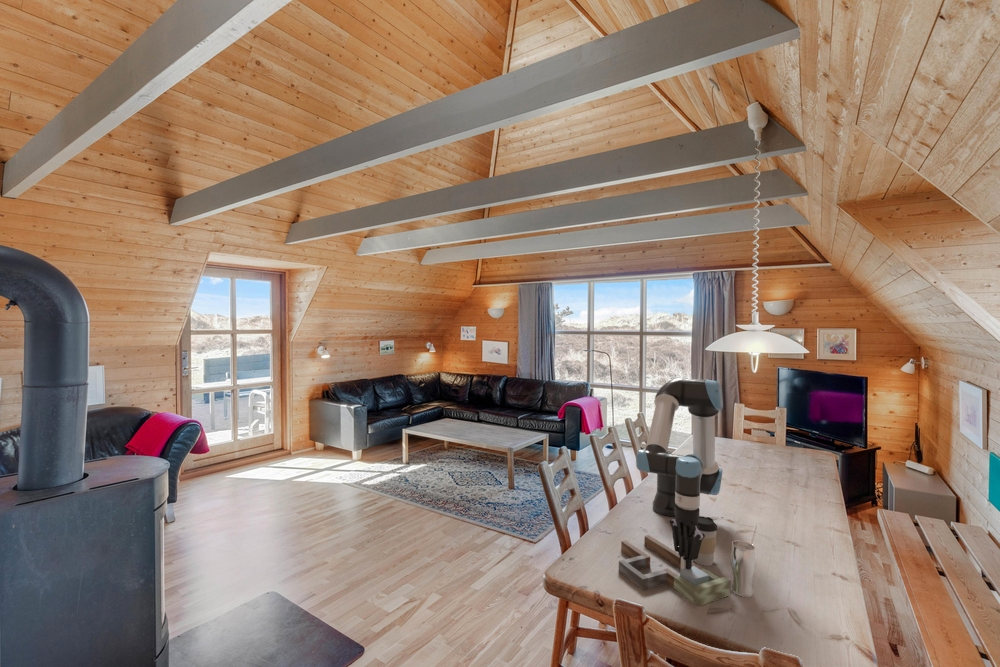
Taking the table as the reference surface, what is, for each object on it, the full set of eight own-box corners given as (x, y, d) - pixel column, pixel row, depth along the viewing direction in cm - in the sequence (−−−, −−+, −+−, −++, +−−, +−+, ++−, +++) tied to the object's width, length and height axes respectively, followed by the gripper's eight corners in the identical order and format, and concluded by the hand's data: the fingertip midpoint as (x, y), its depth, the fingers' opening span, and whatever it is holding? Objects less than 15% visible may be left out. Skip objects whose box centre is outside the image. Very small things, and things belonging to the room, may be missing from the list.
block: (693, 580, 152) (693, 565, 152) (708, 590, 146) (708, 575, 146) (679, 584, 149) (680, 569, 149) (694, 594, 144) (694, 579, 144)
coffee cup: (700, 568, 159) (701, 525, 159) (683, 555, 168) (684, 515, 167) (722, 565, 162) (723, 523, 161) (704, 552, 170) (705, 512, 170)
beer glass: (746, 585, 149) (747, 539, 149) (759, 598, 142) (760, 550, 142) (725, 585, 149) (726, 540, 149) (737, 598, 142) (738, 550, 142)
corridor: (648, 544, 176) (648, 531, 176) (729, 595, 143) (730, 580, 143) (599, 555, 167) (599, 542, 167) (673, 614, 134) (674, 597, 134)
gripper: (663, 500, 155) (661, 569, 156) (694, 515, 143) (692, 589, 144) (680, 497, 158) (678, 564, 159) (711, 511, 146) (709, 584, 147)
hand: (685, 576), depth 151 cm, fingers closed
